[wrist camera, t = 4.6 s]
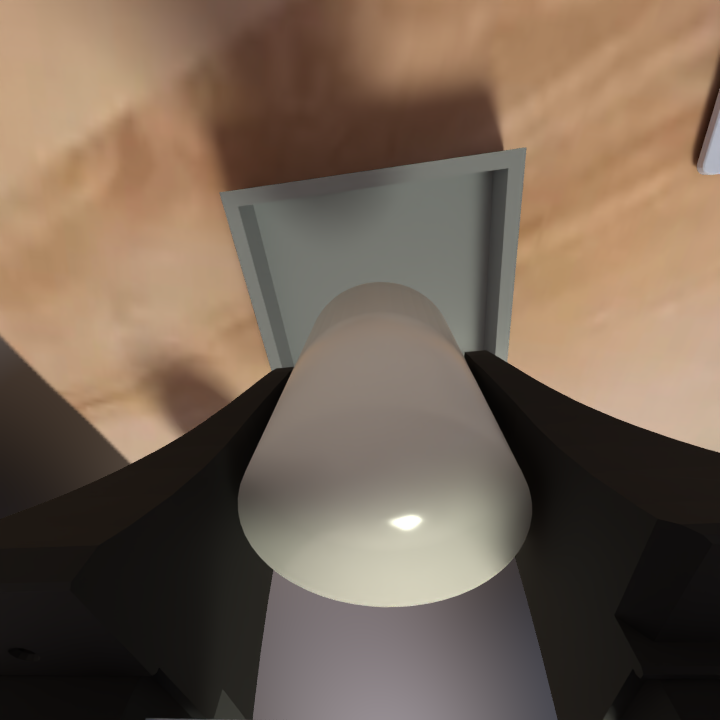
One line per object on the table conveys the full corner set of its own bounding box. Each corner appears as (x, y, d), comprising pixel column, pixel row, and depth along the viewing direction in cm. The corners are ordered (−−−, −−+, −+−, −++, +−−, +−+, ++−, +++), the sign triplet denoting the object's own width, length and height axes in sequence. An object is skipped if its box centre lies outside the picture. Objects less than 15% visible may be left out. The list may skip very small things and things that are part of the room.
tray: (504, 151, 15) (526, 147, 13) (489, 382, 20) (502, 407, 18) (241, 189, 16) (219, 192, 14) (296, 398, 22) (287, 423, 19)
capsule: (447, 270, 11) (542, 386, 4) (454, 401, 13) (525, 601, 7) (294, 294, 11) (191, 426, 5) (326, 416, 14) (282, 611, 7)
